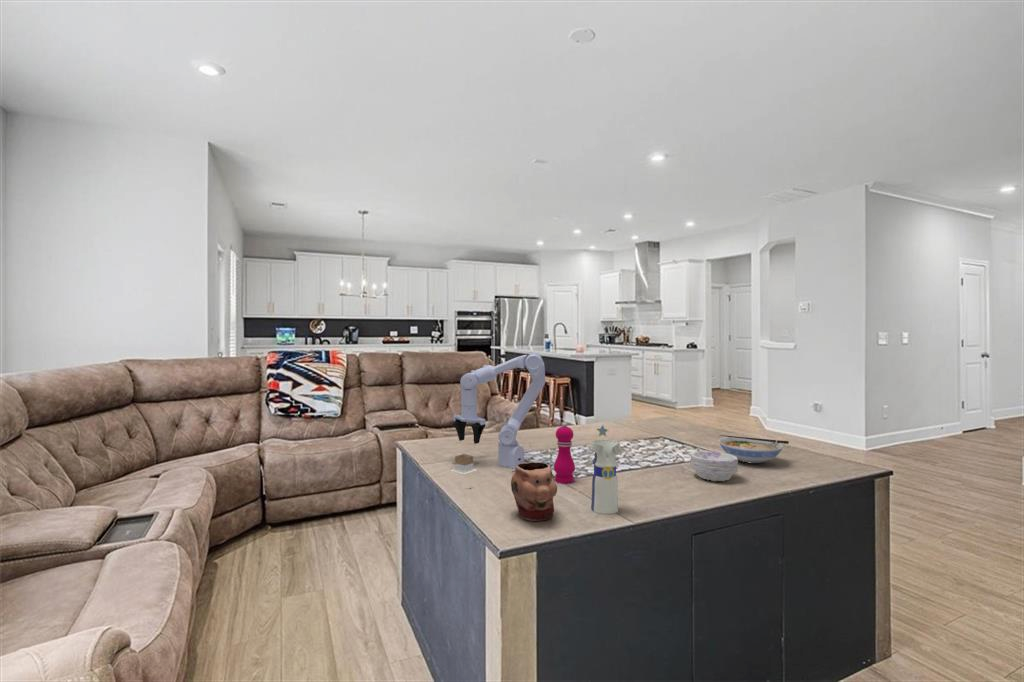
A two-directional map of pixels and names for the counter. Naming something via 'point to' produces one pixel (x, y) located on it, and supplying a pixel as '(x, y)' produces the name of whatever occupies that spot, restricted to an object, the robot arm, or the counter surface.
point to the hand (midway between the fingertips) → (469, 441)
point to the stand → (462, 472)
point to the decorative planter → (534, 490)
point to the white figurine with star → (605, 475)
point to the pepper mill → (564, 455)
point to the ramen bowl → (751, 448)
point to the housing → (463, 463)
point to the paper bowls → (714, 465)
